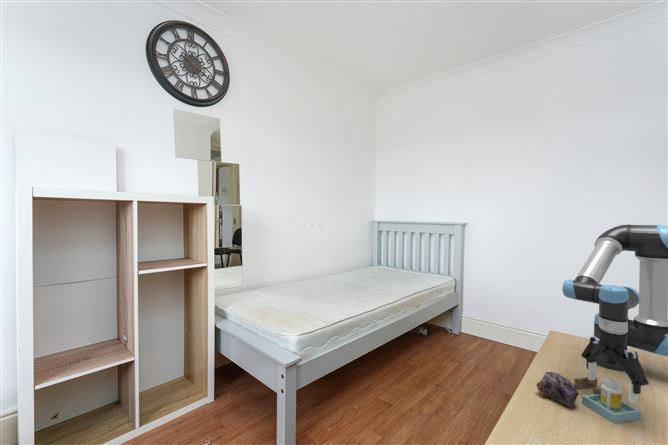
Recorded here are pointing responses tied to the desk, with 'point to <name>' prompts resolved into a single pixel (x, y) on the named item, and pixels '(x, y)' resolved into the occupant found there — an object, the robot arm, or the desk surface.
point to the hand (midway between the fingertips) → (611, 390)
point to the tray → (616, 417)
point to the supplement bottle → (611, 395)
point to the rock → (558, 389)
